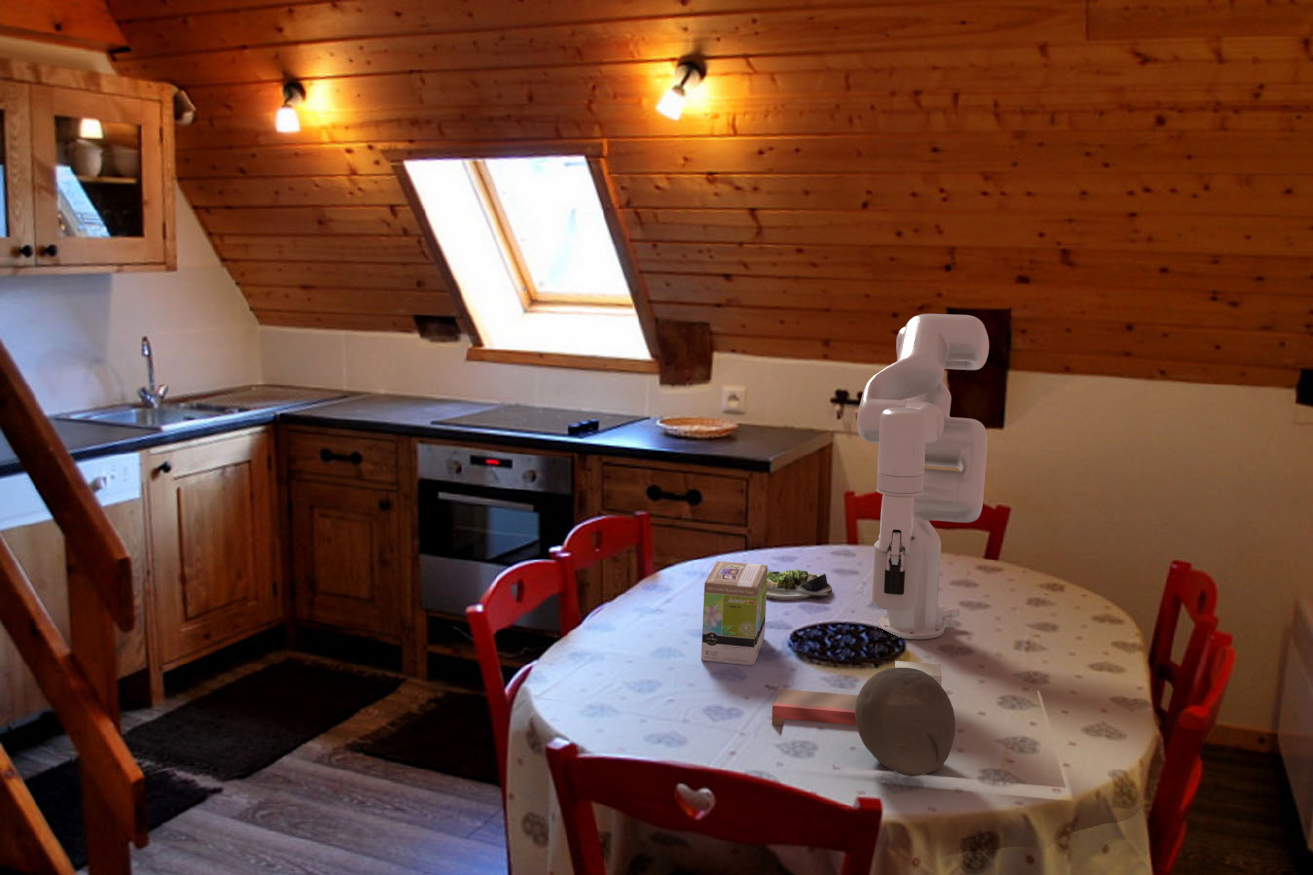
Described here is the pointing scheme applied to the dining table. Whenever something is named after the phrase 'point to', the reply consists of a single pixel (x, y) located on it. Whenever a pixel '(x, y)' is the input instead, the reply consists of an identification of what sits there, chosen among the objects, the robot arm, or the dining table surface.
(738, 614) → the tea box
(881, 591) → the can
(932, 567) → the robot arm
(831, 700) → the shelf board
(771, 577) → the salad plate
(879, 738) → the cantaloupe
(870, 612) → the dining table surface
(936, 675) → the cream rectangular block
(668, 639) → the dining table surface
